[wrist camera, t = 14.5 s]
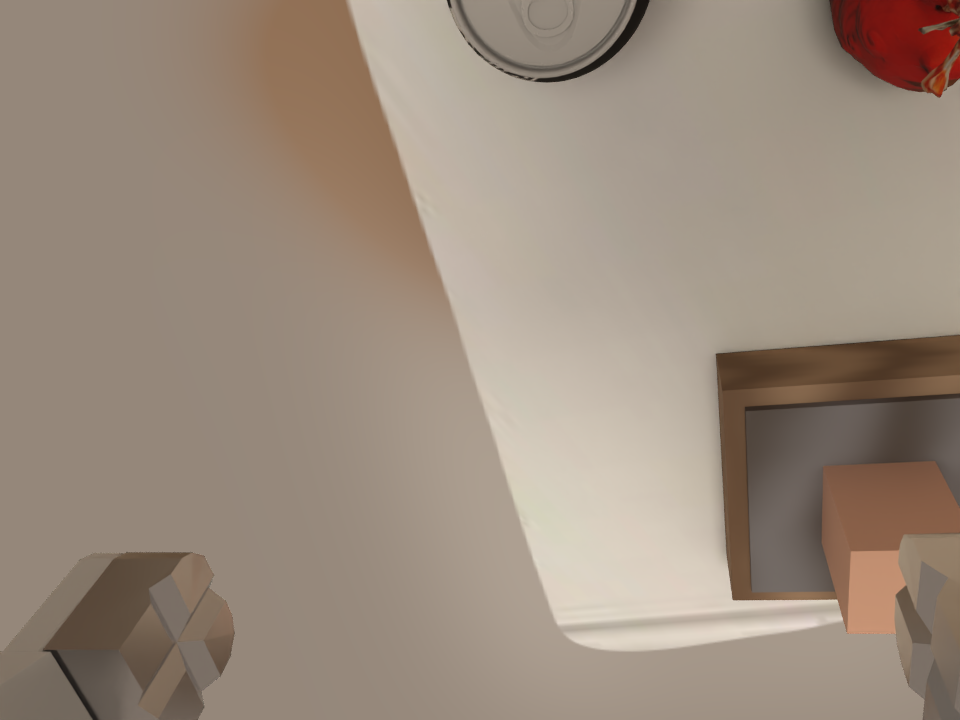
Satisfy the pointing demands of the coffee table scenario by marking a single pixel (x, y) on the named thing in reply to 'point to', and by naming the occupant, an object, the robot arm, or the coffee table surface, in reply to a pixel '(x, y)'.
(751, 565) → the walnut plinth
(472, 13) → the beverage can
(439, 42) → the coffee table surface
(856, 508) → the terracotta block
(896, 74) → the red clay folk toy
